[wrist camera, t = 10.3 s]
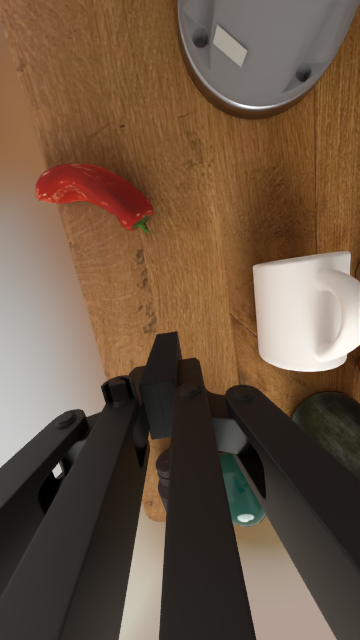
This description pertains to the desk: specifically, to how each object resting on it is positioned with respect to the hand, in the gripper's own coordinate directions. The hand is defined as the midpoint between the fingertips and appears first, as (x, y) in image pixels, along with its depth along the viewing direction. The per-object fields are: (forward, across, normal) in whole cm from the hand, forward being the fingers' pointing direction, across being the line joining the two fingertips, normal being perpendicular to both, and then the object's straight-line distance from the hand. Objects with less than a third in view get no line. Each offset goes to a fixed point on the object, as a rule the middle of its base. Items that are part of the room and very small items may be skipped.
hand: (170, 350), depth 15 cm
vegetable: (+9, 0, +10) cm, 14 cm away
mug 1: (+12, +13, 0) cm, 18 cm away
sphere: (+11, +5, -23) cm, 26 cm away
